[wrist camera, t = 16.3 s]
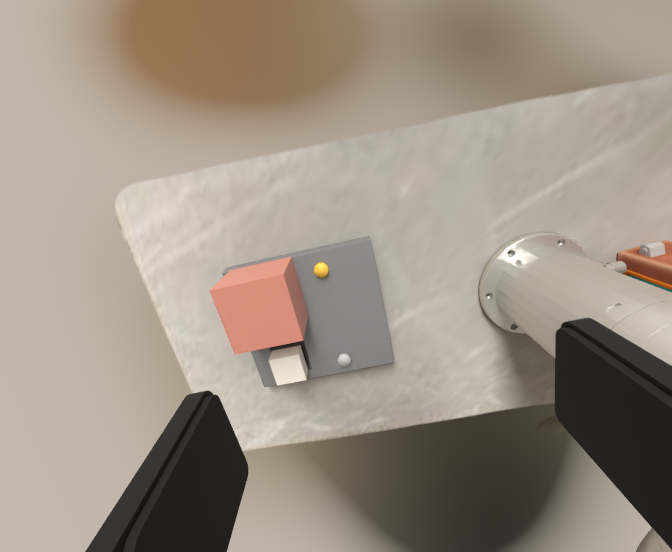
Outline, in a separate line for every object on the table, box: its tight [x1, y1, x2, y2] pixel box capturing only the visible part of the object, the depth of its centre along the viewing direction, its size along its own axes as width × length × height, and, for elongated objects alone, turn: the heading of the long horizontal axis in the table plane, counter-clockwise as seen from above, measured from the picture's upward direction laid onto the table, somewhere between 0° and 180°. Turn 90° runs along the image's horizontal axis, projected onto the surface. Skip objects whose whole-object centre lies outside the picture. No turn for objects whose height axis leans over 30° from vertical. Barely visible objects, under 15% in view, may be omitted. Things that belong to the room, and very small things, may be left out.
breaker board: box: [222, 236, 394, 387], centre depth 38 cm, size 17×16×3 cm
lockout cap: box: [210, 257, 308, 354], centre depth 33 cm, size 7×7×6 cm
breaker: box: [268, 345, 308, 386], centre depth 38 cm, size 4×4×2 cm
